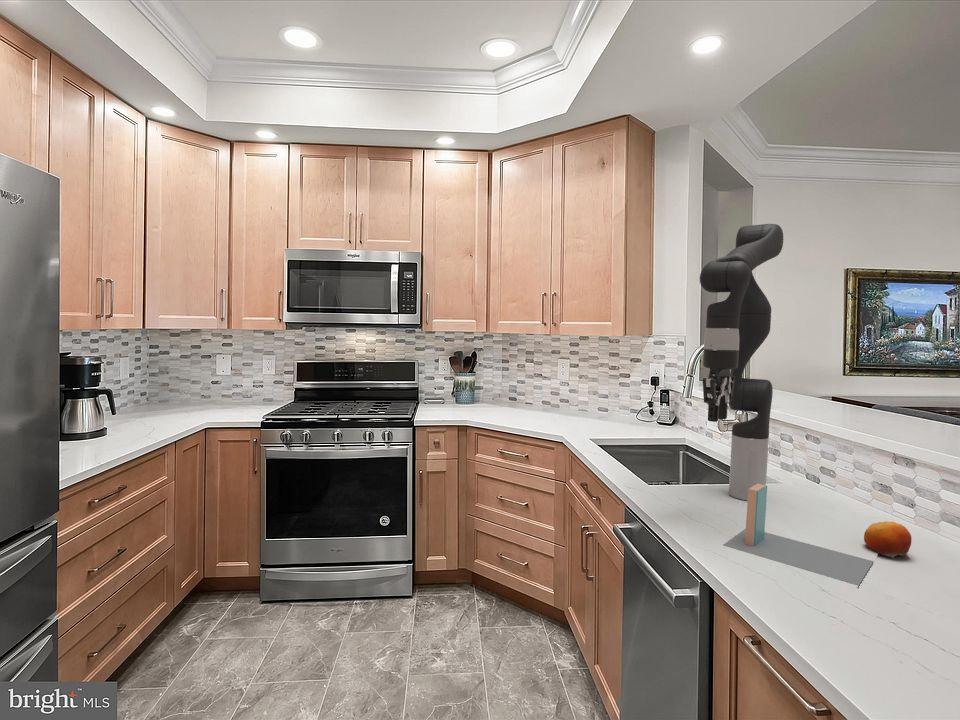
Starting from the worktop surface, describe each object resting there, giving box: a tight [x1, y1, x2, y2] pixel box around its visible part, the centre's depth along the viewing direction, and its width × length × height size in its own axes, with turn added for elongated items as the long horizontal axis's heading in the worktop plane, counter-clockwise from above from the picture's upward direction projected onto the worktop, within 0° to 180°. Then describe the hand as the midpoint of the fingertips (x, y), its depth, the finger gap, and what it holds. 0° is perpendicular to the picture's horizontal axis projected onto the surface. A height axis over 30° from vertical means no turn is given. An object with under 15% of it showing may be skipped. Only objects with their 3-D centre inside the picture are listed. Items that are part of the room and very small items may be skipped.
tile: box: [745, 484, 768, 546], centre depth 116 cm, size 6×2×12 cm, turn 135°
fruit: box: [863, 521, 912, 560], centre depth 112 cm, size 8×8×8 cm
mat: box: [722, 528, 874, 589], centre depth 110 cm, size 15×24×1 cm, turn 45°
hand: (717, 419), depth 125 cm, fingers open, 4 cm apart
